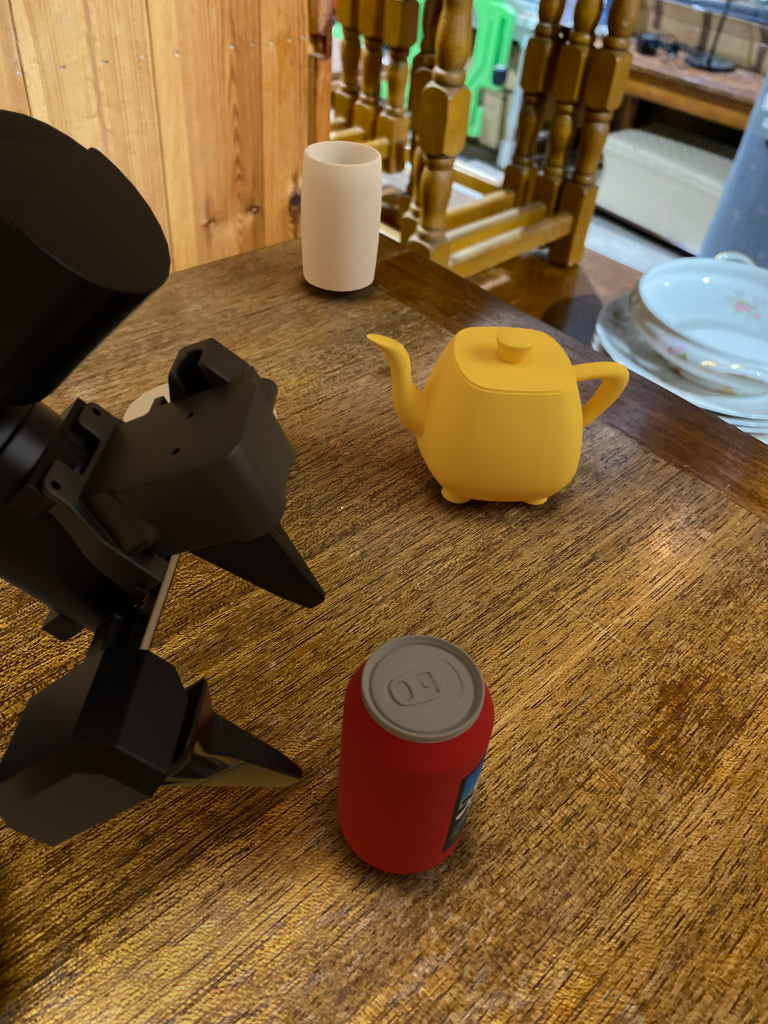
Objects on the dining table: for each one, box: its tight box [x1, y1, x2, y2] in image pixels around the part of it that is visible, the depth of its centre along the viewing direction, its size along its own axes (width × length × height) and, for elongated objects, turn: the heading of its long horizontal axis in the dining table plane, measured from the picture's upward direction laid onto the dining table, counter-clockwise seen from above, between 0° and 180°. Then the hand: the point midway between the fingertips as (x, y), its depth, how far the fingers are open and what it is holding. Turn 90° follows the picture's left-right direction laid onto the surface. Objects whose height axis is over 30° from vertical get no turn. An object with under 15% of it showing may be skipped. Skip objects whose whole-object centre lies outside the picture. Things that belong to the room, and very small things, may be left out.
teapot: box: [366, 326, 630, 506], centre depth 60 cm, size 13×20×12 cm
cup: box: [300, 140, 383, 292], centre depth 83 cm, size 8×8×14 cm
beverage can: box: [337, 634, 495, 875], centre depth 37 cm, size 7×7×12 cm
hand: (308, 681), depth 34 cm, fingers open, 9 cm apart
